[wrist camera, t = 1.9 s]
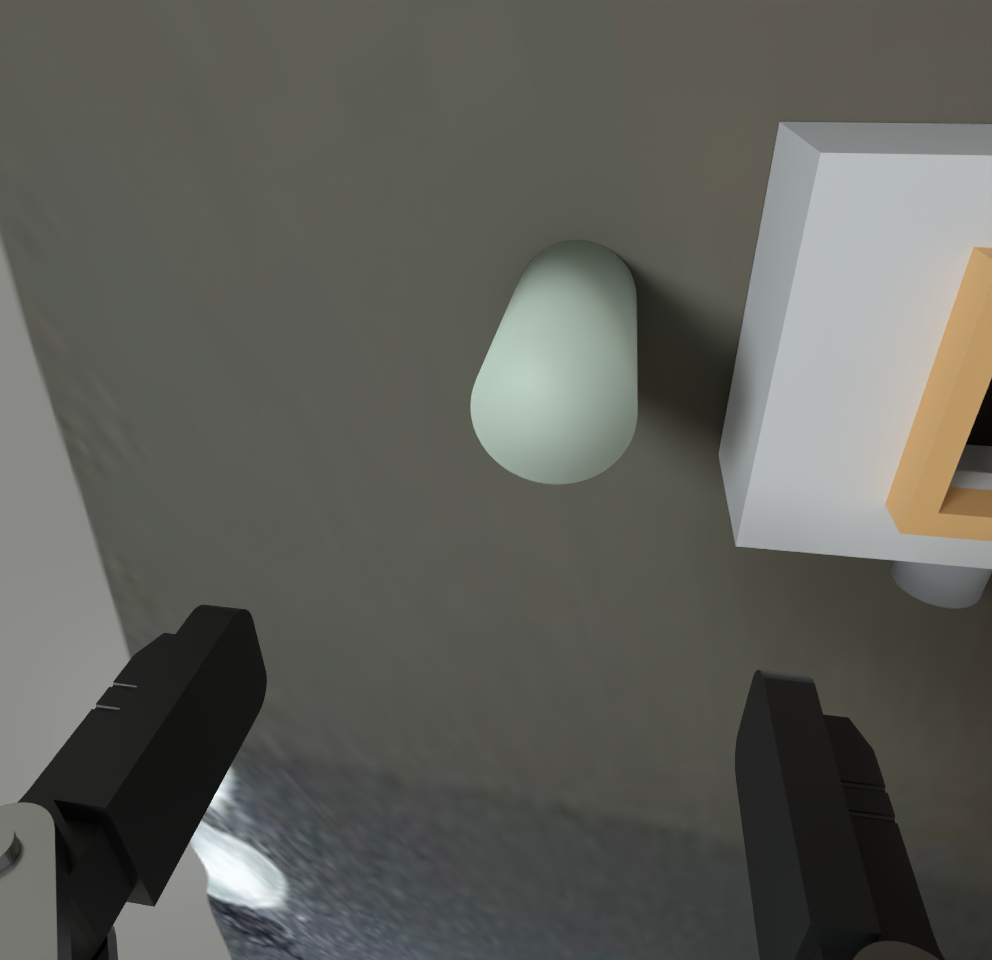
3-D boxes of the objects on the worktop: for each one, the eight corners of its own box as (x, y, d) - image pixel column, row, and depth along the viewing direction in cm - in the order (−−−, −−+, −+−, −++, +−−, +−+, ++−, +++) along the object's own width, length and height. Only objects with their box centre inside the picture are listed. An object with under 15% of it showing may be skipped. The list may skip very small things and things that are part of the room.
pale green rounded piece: (516, 238, 26) (468, 330, 18) (642, 242, 25) (645, 339, 18) (515, 354, 28) (472, 477, 21) (630, 360, 27) (629, 490, 20)
